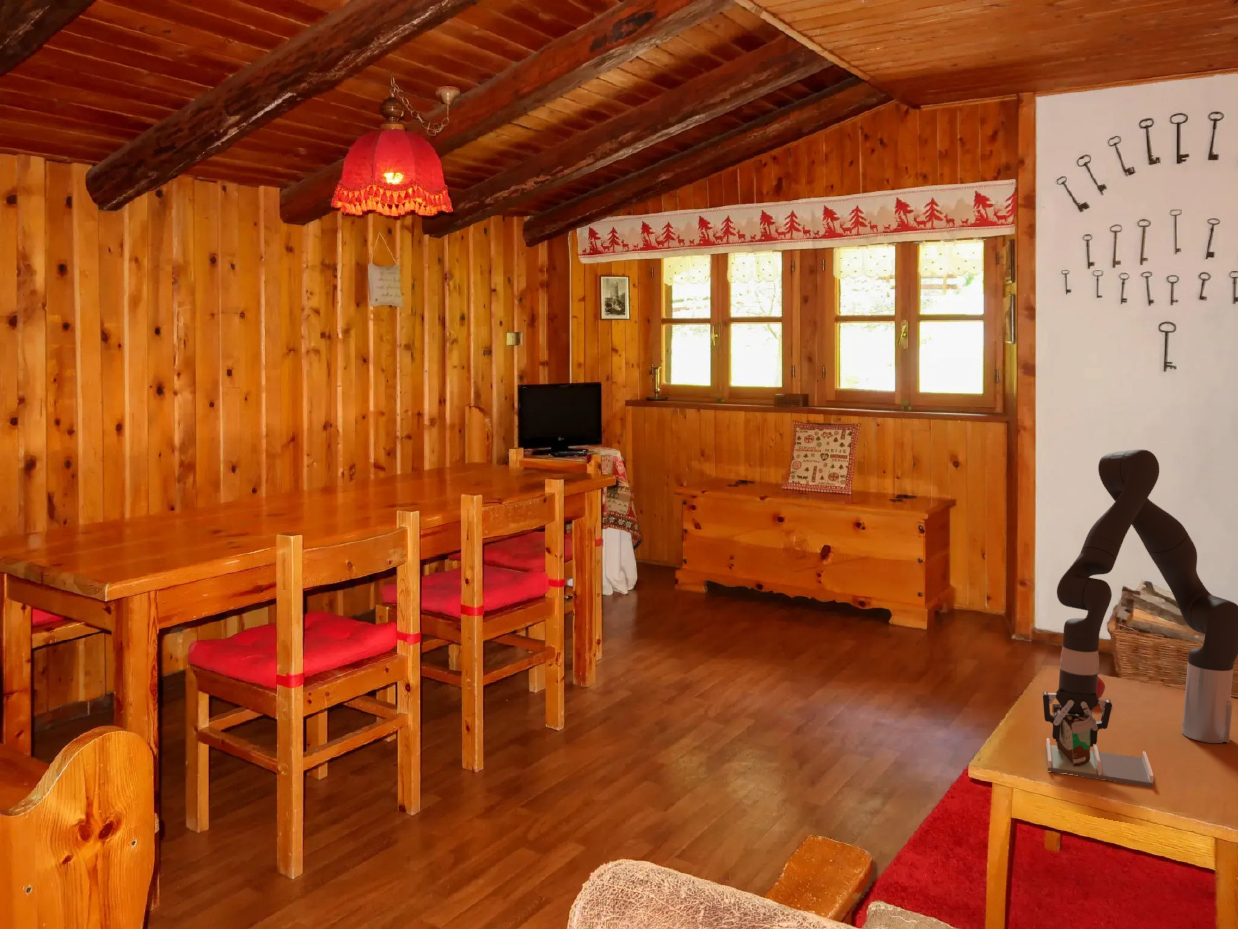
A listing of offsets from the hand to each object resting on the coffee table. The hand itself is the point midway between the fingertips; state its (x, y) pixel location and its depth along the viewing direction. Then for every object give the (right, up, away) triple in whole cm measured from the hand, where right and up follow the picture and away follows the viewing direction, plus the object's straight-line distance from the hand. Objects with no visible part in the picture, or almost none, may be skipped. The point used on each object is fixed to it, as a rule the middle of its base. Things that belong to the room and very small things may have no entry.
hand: (1073, 743), depth 223 cm
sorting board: (+4, -5, -1) cm, 7 cm away
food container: (+2, -3, 0) cm, 4 cm away
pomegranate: (+21, 0, +43) cm, 48 cm away
